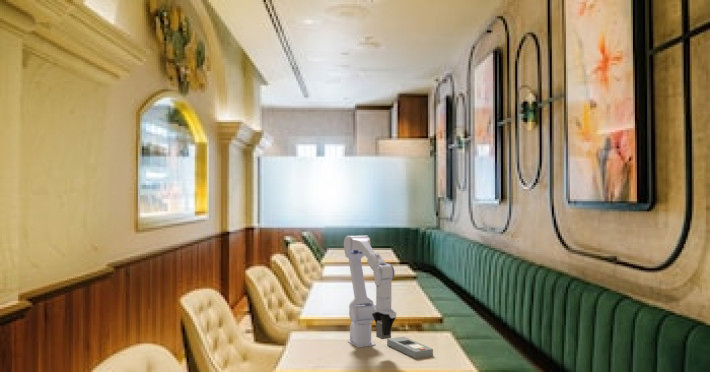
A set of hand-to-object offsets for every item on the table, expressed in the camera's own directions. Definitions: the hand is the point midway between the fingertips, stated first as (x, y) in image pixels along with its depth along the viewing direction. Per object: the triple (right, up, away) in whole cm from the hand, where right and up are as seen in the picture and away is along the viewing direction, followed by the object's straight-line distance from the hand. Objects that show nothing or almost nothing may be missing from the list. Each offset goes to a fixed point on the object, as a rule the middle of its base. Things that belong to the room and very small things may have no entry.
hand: (383, 333), depth 199 cm
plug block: (0, -1, 0) cm, 1 cm away
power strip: (+10, -9, +8) cm, 15 cm away
